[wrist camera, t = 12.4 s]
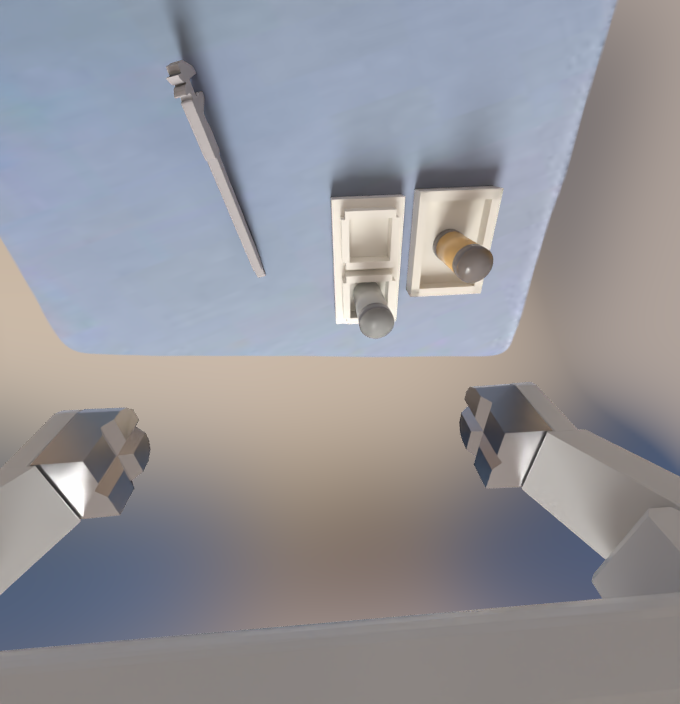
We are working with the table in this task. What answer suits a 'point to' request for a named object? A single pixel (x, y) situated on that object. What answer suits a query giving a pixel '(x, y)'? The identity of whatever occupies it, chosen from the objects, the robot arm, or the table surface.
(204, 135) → the caliper
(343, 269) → the block
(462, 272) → the fuse
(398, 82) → the table surface
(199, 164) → the table surface
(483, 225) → the parts tray
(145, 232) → the table surface
